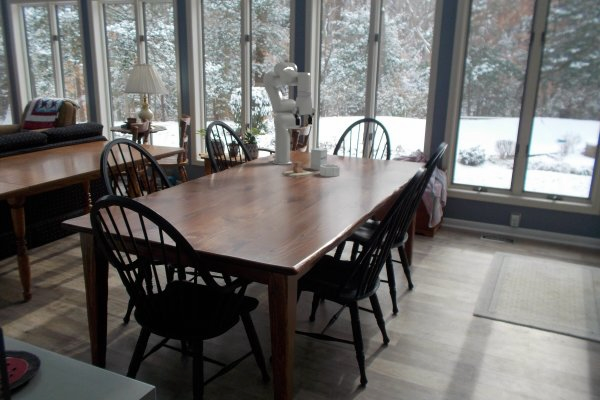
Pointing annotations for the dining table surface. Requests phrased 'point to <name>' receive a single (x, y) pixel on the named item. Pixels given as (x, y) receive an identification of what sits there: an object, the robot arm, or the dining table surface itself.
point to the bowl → (329, 170)
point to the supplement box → (318, 158)
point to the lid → (298, 170)
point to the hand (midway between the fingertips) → (303, 124)
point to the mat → (297, 177)
